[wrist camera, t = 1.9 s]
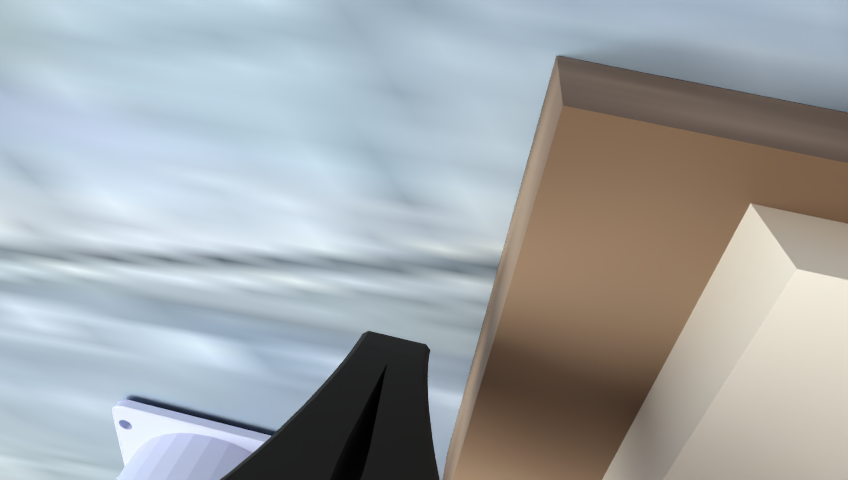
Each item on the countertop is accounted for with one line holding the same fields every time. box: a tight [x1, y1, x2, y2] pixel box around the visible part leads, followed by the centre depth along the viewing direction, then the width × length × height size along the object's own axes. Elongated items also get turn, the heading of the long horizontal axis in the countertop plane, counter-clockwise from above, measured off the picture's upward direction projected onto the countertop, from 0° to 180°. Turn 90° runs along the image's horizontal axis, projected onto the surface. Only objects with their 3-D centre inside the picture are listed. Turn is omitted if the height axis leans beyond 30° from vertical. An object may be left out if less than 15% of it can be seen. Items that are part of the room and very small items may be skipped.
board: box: [443, 56, 848, 480], centre depth 14 cm, size 14×13×4 cm
